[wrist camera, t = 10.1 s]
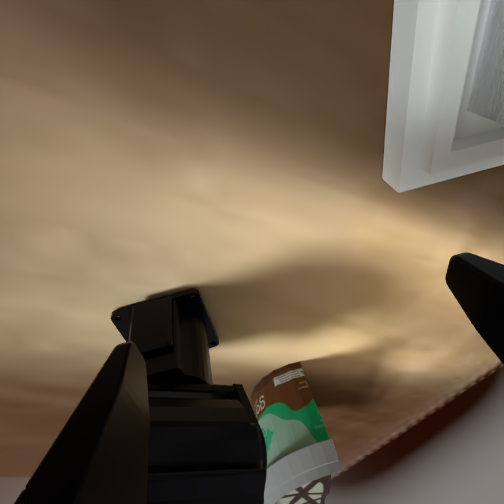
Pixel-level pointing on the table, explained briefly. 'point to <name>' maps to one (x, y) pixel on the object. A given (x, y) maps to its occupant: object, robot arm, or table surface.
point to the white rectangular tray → (436, 95)
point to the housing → (490, 68)
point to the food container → (293, 439)
